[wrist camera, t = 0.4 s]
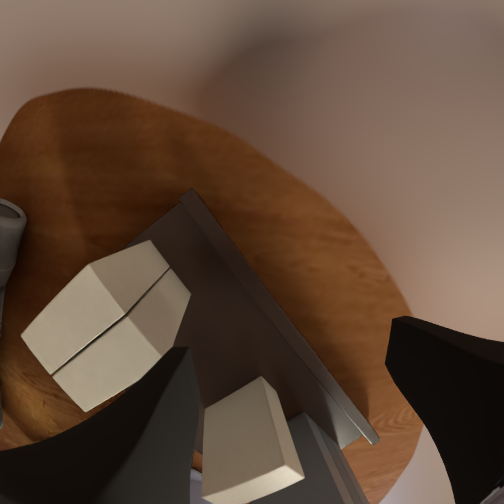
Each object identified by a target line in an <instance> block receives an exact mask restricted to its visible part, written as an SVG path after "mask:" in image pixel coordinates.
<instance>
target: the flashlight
mask: <svg viewBox="0 0 504 504" xmlns="http://www.w3.org/2000/svg"><path fill="white" fill-rule="evenodd" d="M26 221H27V218H26V215H25V213H24V212H23V210H22V209H21V208H19V207H18V206H17V205H15V204H13V203H12V202H10V201H7V200H5V199H2V198H0V337H1V323H2V313H3V304H4V297H5V290H6V284H7V280H8V278H9V276H10V274H11V272H12V270H13V268H14V266H15V263H16V259H17V255H18V251H19V247H20V243H21V239H22V236H23V232H24V229H25V225H26ZM3 423H4V421H3V412H2V402H1V388H0V429H1V428H2V426H3Z"/></svg>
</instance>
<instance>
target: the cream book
mask: <svg viewBox="0 0 504 504" xmlns="http://www.w3.org/2000/svg"><path fill="white" fill-rule="evenodd" d="M304 478H305V476H304V473H303V470H302V467H301V464H300V461H299V458H298V455H297V452H296V449H295V446H294V443H293V440H292V437H291V434H290V431H289V428H288V425H287V422H286V419H285V416H284V413H283V410H282V407H281V404H280V401H279V398H278V395H277V392H276V391H275V390H274V389H273V388H272V387H271V386H270V385H269V383H268V382H267V381H266V380H265V379H264V378H263V377H262V376H260V377H258V378H257V379H255V380H253V381H252V382H250V383H249V384H247V385H245V386H244V387H242V388H240V389H239V390H237V391H235V392H234V393H232V394H230V395H229V396H227V397H225V398H223V399H222V400H220V401H218V402H216V403H215V404H213V405H211V406H209V407H207V408H206V409H205V416H204V436H203V460H202V498H203V499H205V500H207V501H209V502H211V503H213V504H245V503H248V502H250V501H253V500H256V499H258V498H261V497H264V496H266V495H269V494H271V493H273V492H276V491H278V490H280V489H283V488H285V487H287V486H289V485H292V484H294V483H296V482H298V481H300V480H302V479H304Z"/></svg>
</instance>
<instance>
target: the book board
mask: <svg viewBox="0 0 504 504" xmlns="http://www.w3.org/2000/svg"><path fill="white" fill-rule="evenodd" d="M179 200H180V203H179V204H177V205H176V206H175V207H173V208H172V209H171V210H170V211H168V212H167V213H166V214H164V215H163V216H162V217H161V218H159V219H158V220H157V221H156V222H154V223H153V224H152V225H151V226H149V227H148V228H147V229H146V230H145V231H143V232H142V233H141V234H140V235H138V236H137V237H136V238H135V239H134V240H132V241H131V242H130V243H129V244H128V245H127V246H125V247H124V248H123V249H122V250H124V249H127V248H130V247H132V246H135V245H137V244H140V243H143V242H145V241H148V240H151V242H152V243H153V245H154V246H155V247H156V249H157V250H158V251H159V253H160V254H161V255H162V257H163V258H164V259H165V261H166V262H167V263H168V265H169V266H170V267H169V268H168V269H167V270H169V269H170V268H171V269H172V270H173V271H174V273H175V274H176V275H177V277H178V278H179V279H180V280H181V282H182V283H183V284H184V286H185V287H186V288H187V289H188V291H189V292H190V293H191V296H190V299H189V301H188V304H187V307H186V310H185V312H184V315H183V318H182V321H181V323H180V326H179V329H178V332H177V335H176V337H175V340H174V343H173V346H172V347H184V346H189V347H190V352H191V356H192V361H193V365H194V370H195V374H196V378H197V382H198V387H199V391H200V407H199V421H198V427H197V434H196V440H195V446H194V449H195V450H196V451H198V452H199V453H200V454H202V455H203V436H204V416H205V409H206V408H207V407H209V406H211V405H213V404H215V403H216V402H218V401H220V400H222V399H223V398H225V397H227V396H229V395H230V394H232V393H234V392H235V391H237V390H239V389H240V388H242V387H244V386H245V385H247V384H249V383H250V382H252V381H253V380H255V379H257V378H258V377H260V376H262V377H263V378H264V379H265V380H266V381H267V382H268V383H269V385H270V386H271V387H272V388H273V389H274V390H275V391H276V392H277V395H278V398H279V401H280V404H281V407H282V410H283V413H284V416H285V419H286V422H287V421H289V420H291V419H292V418H294V417H296V416H297V415H299V414H301V413H302V412H305V413H306V414H307V415H308V416H309V417H310V418H311V419H312V420H313V421H314V422H315V423H316V424H317V425H318V426H319V427H320V428H321V429H322V430H323V431H324V432H325V433H326V434H327V435H328V436H329V437H330V438H331V439H332V440H333V441H334V442H335V443H336V444H337V445H339V447H340V449H342V448H344V447H346V446H347V445H349V444H350V443H352V442H353V441H355V440H356V439H358V438H359V437H361V436H362V435H364V436H365V437H366V438H367V440H368V441H369V442H370V443H371V444H372V445H375V444H376V443H377V442H379V441H380V440H381V438H380V437H379V436H378V434H377V433H376V431H375V430H374V429H373V427H372V426H371V424H370V423H369V422H368V420H367V419H366V418H365V416H364V415H363V414H362V412H361V411H360V410H359V409H358V407H357V406H356V405H355V403H354V402H353V401H352V399H351V398H350V397H349V395H348V394H347V393H346V392H345V390H344V389H343V388H342V386H341V385H340V384H339V382H338V381H337V380H336V378H335V377H334V376H333V374H332V373H331V372H330V370H329V369H328V368H327V367H326V365H325V364H324V363H323V361H322V360H321V359H320V357H319V356H318V355H317V353H316V352H315V351H314V349H313V348H312V347H311V345H310V344H309V343H308V341H307V340H306V339H305V337H304V336H303V335H302V333H301V332H300V331H299V329H298V328H297V327H296V325H295V324H294V323H293V321H292V320H291V319H290V317H289V316H288V315H287V313H286V312H285V311H284V309H283V308H282V307H281V305H280V304H279V303H278V301H277V300H276V299H275V297H274V296H273V295H272V293H271V292H270V290H269V289H268V288H267V286H266V285H265V284H264V282H263V281H262V280H261V278H260V277H259V276H258V274H257V273H256V272H255V270H254V269H253V268H252V266H251V265H250V263H249V262H248V261H247V259H246V258H245V257H244V255H243V254H242V253H241V251H240V250H239V249H238V247H237V246H236V244H235V243H234V242H233V240H232V239H231V238H230V236H229V235H228V234H227V232H226V231H225V230H224V228H223V227H222V225H221V224H220V223H219V221H218V220H217V219H216V217H215V216H214V215H213V213H212V212H211V210H210V209H209V208H208V206H207V205H206V204H205V202H204V201H203V199H202V198H201V197H200V195H199V194H198V193H197V192H196V191H195V190H194V189H193V188H191V189H190V190H189V191H187V192H186V193H185V194H183V195H182V196H181V197H179ZM122 250H121V251H122ZM167 270H166V271H167ZM166 271H165V272H166ZM165 272H164V273H165ZM164 273H163V274H164ZM136 382H137V381H136ZM136 382H135V383H136ZM135 383H133V384H132V385H130V386H128V387H127V388H125V390H126V391H127V390H128V389H129V388H130V387H132V386H133V385H134V384H135Z"/></svg>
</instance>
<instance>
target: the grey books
mask: <svg viewBox="0 0 504 504" xmlns="http://www.w3.org/2000/svg"><path fill="white" fill-rule="evenodd" d="M287 425H288V428H289V431H290V434H291V437H292V440H293V443H294V446H295V449H296V452H297V455H298V458H299V461H300V464H301V467H302V470H303V473H304V476H305V478H304V479H302V480H300V481H298V482H296V483H294V484H292V485H289V486H287V487H285V488H283V489H280V490H278V491H276V492H273V493H271V494H269V495H266V496H264V497H261V498H258V499H256V500H253V501H250V502H249V503H250V504H369V502H368V500H367V498H366V496H365V494H364V492H363V491H362V489H361V487H360V485H359V483H358V481H357V479H356V477H355V475H354V473H353V472H352V470H351V468H350V466H349V464H348V462H347V460H346V458H345V456H344V454H343V452H342V451H341V449H340V447H339V445H337V444H336V443H335V442H334V441H333V440H332V439H331V438H330V437H329V436H328V435H327V434H326V433H325V432H324V431H323V430H322V429H321V428H320V427H319V426H318V425H317V424H316V423H315V422H314V421H313V420H312V419H311V418H310V417H309V416H308V415H307V414H306V413H305V412H302V413H301V414H299V415H297V416H296V417H294V418H292V419H291V420H289V421H287Z"/></svg>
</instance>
